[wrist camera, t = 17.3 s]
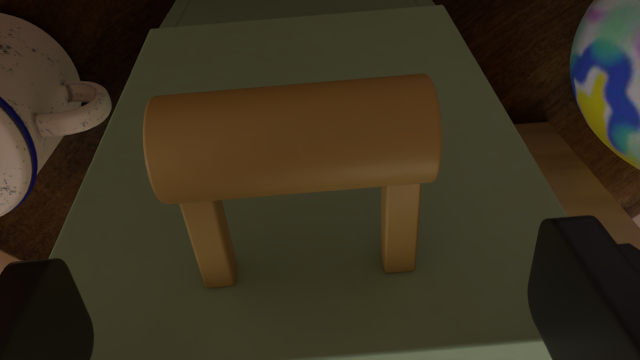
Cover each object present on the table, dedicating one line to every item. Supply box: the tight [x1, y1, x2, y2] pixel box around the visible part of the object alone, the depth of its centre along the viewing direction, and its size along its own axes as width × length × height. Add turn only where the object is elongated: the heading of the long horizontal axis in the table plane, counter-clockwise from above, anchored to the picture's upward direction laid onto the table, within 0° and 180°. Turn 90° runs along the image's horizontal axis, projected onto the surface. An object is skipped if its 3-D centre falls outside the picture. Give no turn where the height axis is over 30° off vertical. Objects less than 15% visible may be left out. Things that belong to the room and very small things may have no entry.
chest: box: [159, 0, 435, 28], centre depth 32 cm, size 16×13×9 cm
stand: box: [514, 122, 640, 250], centre depth 31 cm, size 8×8×20 cm
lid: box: [49, 5, 568, 360], centre depth 16 cm, size 16×13×5 cm
